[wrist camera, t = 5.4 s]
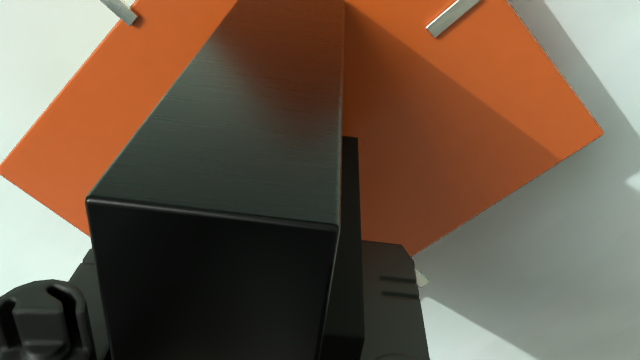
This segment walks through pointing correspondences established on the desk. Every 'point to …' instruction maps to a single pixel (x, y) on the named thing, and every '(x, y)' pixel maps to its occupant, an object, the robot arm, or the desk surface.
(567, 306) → the desk surface
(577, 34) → the desk surface
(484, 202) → the orange box
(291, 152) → the black slab
